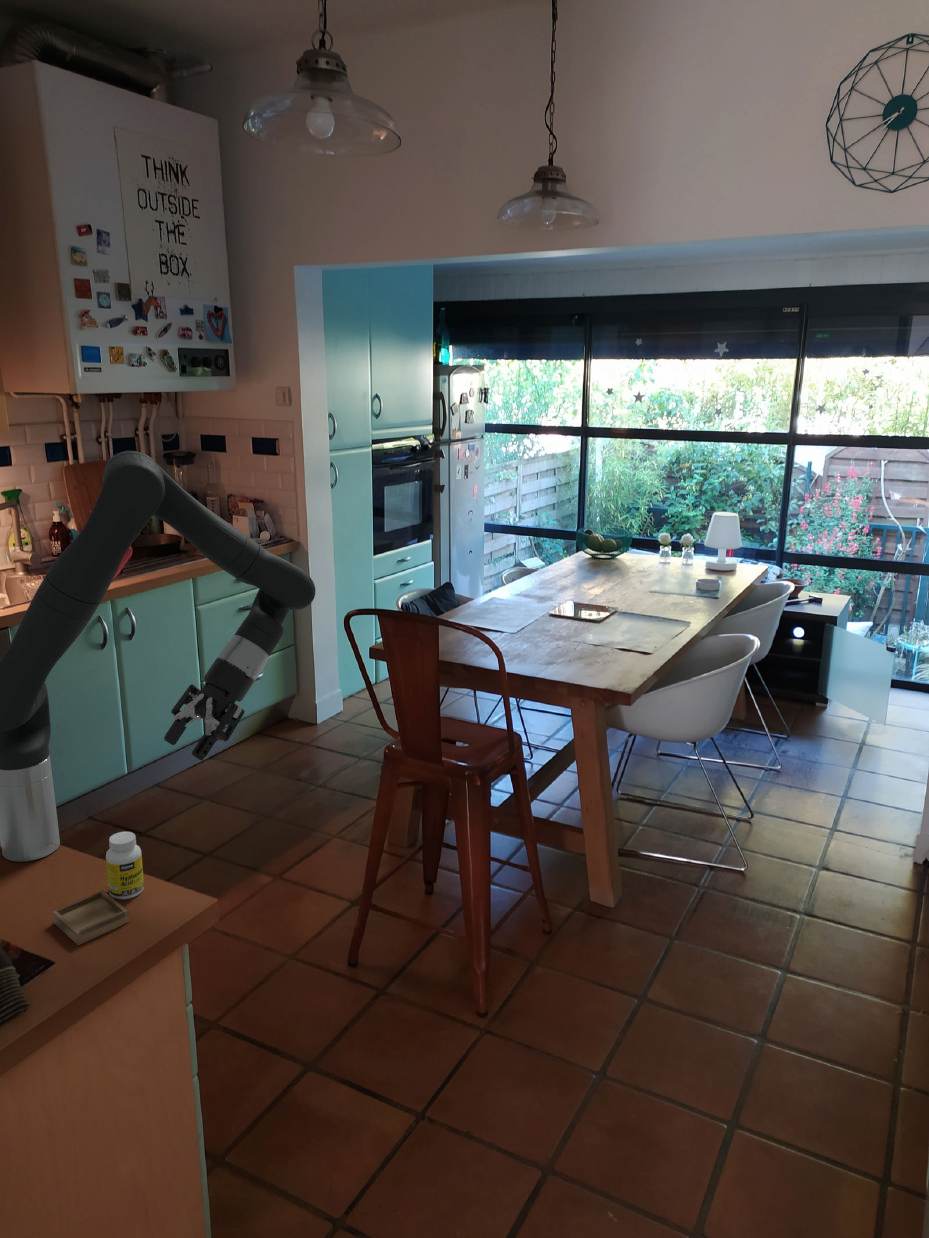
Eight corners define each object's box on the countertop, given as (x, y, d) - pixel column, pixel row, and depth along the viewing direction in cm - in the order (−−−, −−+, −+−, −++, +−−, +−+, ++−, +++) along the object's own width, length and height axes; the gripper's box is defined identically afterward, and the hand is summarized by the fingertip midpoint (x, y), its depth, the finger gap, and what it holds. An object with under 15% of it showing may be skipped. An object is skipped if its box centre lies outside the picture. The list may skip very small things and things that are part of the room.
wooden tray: (53, 922, 140) (52, 911, 139) (103, 901, 146) (102, 890, 145) (78, 945, 135) (76, 933, 134) (128, 921, 141) (127, 910, 140)
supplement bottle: (121, 904, 145) (116, 850, 142) (102, 892, 148) (96, 838, 145) (151, 889, 149) (146, 836, 146) (131, 877, 152) (126, 825, 149)
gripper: (199, 647, 158) (143, 728, 153) (247, 666, 148) (190, 753, 144) (227, 669, 163) (174, 747, 158) (275, 688, 154) (221, 772, 149)
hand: (182, 750), depth 151 cm, fingers open, 8 cm apart
